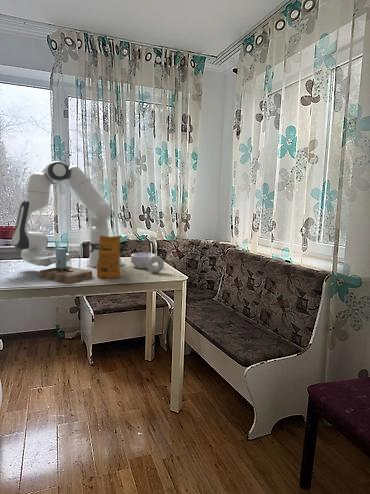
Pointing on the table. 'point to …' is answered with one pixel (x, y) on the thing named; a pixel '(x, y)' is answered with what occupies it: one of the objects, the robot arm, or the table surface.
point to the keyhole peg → (61, 258)
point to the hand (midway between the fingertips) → (62, 261)
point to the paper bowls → (141, 259)
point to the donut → (153, 259)
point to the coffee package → (108, 257)
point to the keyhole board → (66, 274)
